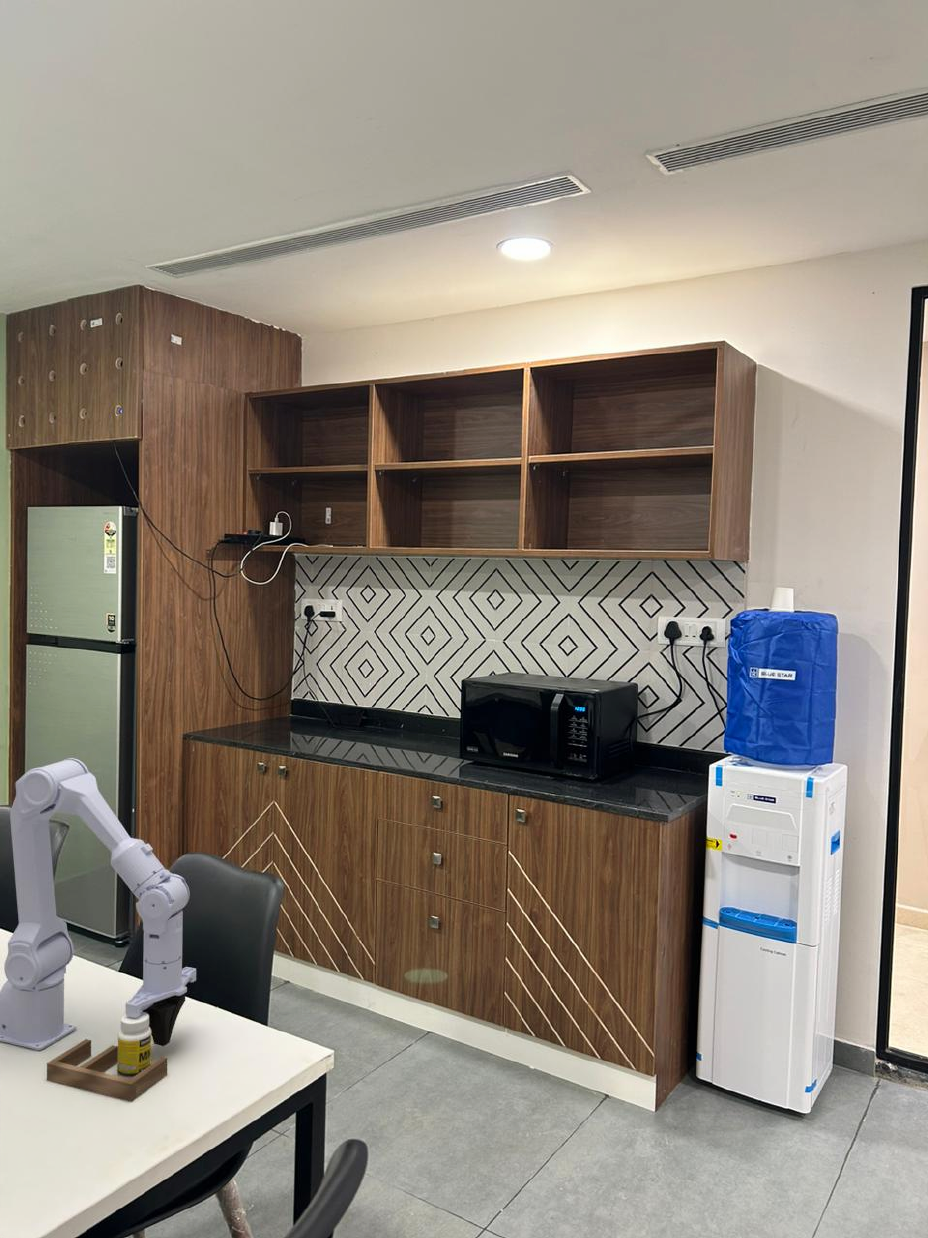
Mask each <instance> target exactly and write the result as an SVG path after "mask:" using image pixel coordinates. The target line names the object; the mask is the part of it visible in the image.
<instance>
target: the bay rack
mask: <svg viewBox="0 0 928 1238" xmlns="http://www.w3.org/2000/svg"><path fill="white" fill-rule="evenodd" d="M90 1057H92V1040H91V1039H87V1038H85V1039H84V1040H82V1041H80V1042H78V1043H77V1044H76V1045H73V1047H71V1048H69V1049H68V1050H66V1051H64V1052H63V1053H61V1054H60V1055H58V1056H56V1057H55V1058H53V1059H51V1060H50V1061H47V1063H46V1081H48V1082H52V1083H57V1084H61V1085H64V1086H69V1087H71V1088H72V1087H73V1088H77V1089H80V1090H84V1091H88V1092H92V1093H96V1094H100V1095H103V1096H108V1097H111V1098H114V1099H118V1098H119V1100H121V1101H122V1100H124V1101H127V1102H130V1103H132V1102H133V1101H134V1100H136V1099H137V1098H138V1097H140V1096H141V1095H142V1094H144V1093H145V1092H146V1091H148V1090H149V1089H150V1088H152V1087H153V1086H154V1085H156V1083H158V1082H159V1081H161V1080H162V1079H163V1078H165V1077H166V1076H168V1057H164V1056H161V1057H159V1058H158V1059H157V1060H155V1061H154V1062H153V1063H151V1065H150V1066H148V1067H147V1068H146V1069H144V1070H143V1071H141V1072H140V1073H139V1074H137V1075H136V1076H135V1077H133V1078H132V1079H126V1078H122V1077H118V1075H114V1074H109V1073H106V1072H107V1071H108V1070H109V1069H111V1068H112V1067H113V1066H116V1065H117V1060H118V1045H113V1044H112V1045H111V1046H109V1047H107V1048H106V1049H105V1050H103V1051H101V1052H100V1053H98V1054H97V1055H96V1056H93V1057H92V1058H91V1059H89V1058H90ZM87 1059H89V1060H88V1061H86V1060H87ZM84 1061H86V1062H85V1063H83V1062H84ZM81 1063H83V1064H82V1065H80V1064H81ZM79 1065H80V1066H79Z"/></svg>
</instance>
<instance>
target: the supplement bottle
mask: <svg viewBox="0 0 928 1238" xmlns="http://www.w3.org/2000/svg"><path fill="white" fill-rule="evenodd" d="M117 1046H118V1060H117V1063H116V1066H117V1069H116V1073H117V1074H116V1076H118V1077H122V1078H126V1079H132V1078H133V1077H135V1076H136V1075H137V1074H139V1073H140V1072H141V1071H143V1070H144V1069H146V1068H147V1067H148V1066H150V1065H151V1064H152V1063H151V1062H152V1035H151V1029H150V1027H149V1015H148V1014H147V1013H145V1012H142V1011H141V1012H140V1016H138V1017H137V1018H135V1017H130V1016H126V1015H125V1014H123V1016H122V1017H121V1018H120V1030H119V1032H118V1033H117Z"/></svg>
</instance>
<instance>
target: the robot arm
mask: <svg viewBox="0 0 928 1238" xmlns="http://www.w3.org/2000/svg"><path fill="white" fill-rule="evenodd" d="M14 785H15V791H16V792H15V797H14V800H13V803H12V807H11V809H10V813H9V817H10V818H9V819H10V820H9V821H10V831H11V843H12V854H13V855H12V856H13V867H14V879H15V890H16V891H15V892H16V904H17V914H18V917H17V918H18V924H17V927H16V928H15V930H14V932H13V934H12V935H11V937H10V938H9V940H8V943H7V949H8V950H7V956H6V959H5V961H4V974H5V977H6V978H7V980H6V981H5V983H4V984H3V985H2V986H1V989H0V1042H3V1043H7V1044H12V1045H16V1046H20V1047H24V1048H29V1049H32V1050H36V1051H42V1050H43V1049H45V1048H47V1047H48V1046H50V1045H52V1044H53V1043H55V1042H57V1041H58V1040H60V1039H62V1038H63V1037H65V1036H67V1035H68V1034H71V1033H72V1032H74V1031H75V1030H77V1026H76V1025H75V1024H69V1023H65V1020H64V1018H65V974H67V965H69V964H70V962H71V961H72V960H73V957H74V954H75V947H74V942H73V941H72V938H71V937H70V935H69V933H68V926H67V925H68V924H67V923H66V921H64V920H62V919H61V918H59V917H58V916H57V906H56V896H55V895H56V894H55V883H54V881H55V879H54V870H53V869H54V868H53V857H52V845H51V843H52V842H51V833H50V832H51V831H50V819H52V817H54V815H55V814H56V813H57V814H66V815H74V816H77V817H79V819H81V820H82V822H83V823H84V824H85V825H86V826H87V827H88V828H89V829H90V831H91V832H93V834H94V835H95V836H96V837H97V838H98V839H99V840H100V842H102V844H103V845H104V846H106V848H107V849H108V850H109V851H110V852H111V857H110V865H111V867H112V868H113V869H114V870H115V872H116V873H117V874H118V876H119V877H120V878H121V879H122V881H123V882H124V883H125V885H126V886H127V887H128V888H129V889H130V891H131V893H133V895H134V896H135V897H136V899H138V901H137V902H136V903H135V907H136V912H137V914H138V916H139V917H140V918H141V920H142V924H143V925H142V930H143V956H142V957H143V959H142V960H143V961H142V964H143V968H142V969H143V971H142V972H143V974H142V985H141V987H140V988H139V989H138V990H137V991H136V992H135V993H134V995H133V996H132V997H131V999H129V1000H128V1001H127V1002H125V1014H124V1015H126V1016H130V1017H135V1018H137V1017H138V1016H140V1012H145V1013H147V1014H148V1015H149V1027H150V1029H151V1039H152V1042H153V1045H156V1046H160V1047H165V1046H167V1045H169V1044H170V1042H171V1040H172V1034H173V1031H174V1028H175V1024H176V1021H177V1018H178V1015H179V1013H180V1011H181V1009H182V1007H183V1005H184V1004H185V1002H186V994H185V993H187V992H188V987H187V986H186V985H187V984H188V983H194V982H196V981H197V968H195V967H194V968H193V967H188V966H185V967H183V930H184V929H183V919H184V918H183V917H184V916H183V915H184V913H183V910H182V909H183V908H185V907H186V905H187V904H188V902H189V900H190V895H191V893H190V888H189V886H188V884H187V883H186V879H185V878H184V877H183V876H181V875H179V874H176V873H172V872H170V870H169V869H166V868H165V866H164V865H163V864H162V863H161V862H160V860H159V859H158V858H157V857H156V855H155V854H154V853H153V852H152V851H153V847H152V845H150V843H145V842H144V840H143V839H139V838H133V837H131V836H130V835H129V834H128V832H127V831H126V829H125V827H124V826H123V824H122V823H121V822H120V820H119V818H118V817H117V816H116V815H115V813H114V811H113V810H112V809H111V807H110V805H109V804H108V802H107V801H106V800H105V798H104V796H103V795H102V794H101V792H100V791H99V788H98V783H97V779H96V777H95V775H94V774H93V773H92V772H89V768H88V767H87V766H86V764H85V763H84V762H83V761H81V760H79V759H78V758H73V757H67V758H65V759H62V760H61V761H59V762H58V761H56V762H55V763H51V764H47V765H43V766H41V767H35V768H30V769H29V770H28V771H27V772H26V773H24V774H23V775H22V776H21V777H20V778H19V779H18V780H16V782H15V784H14Z"/></svg>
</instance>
